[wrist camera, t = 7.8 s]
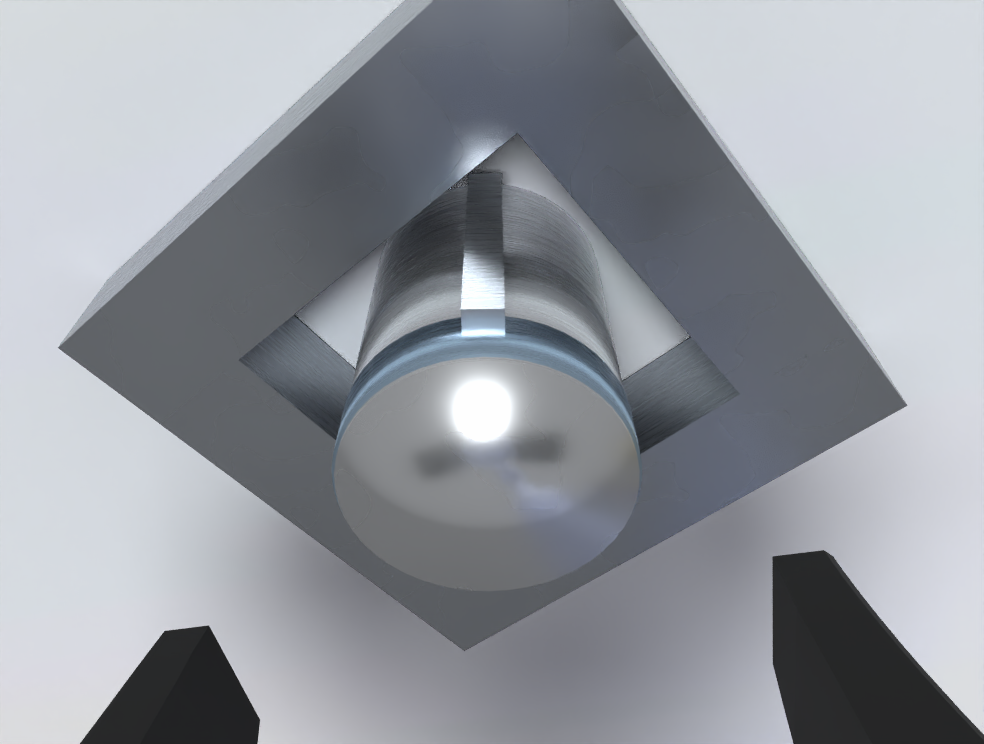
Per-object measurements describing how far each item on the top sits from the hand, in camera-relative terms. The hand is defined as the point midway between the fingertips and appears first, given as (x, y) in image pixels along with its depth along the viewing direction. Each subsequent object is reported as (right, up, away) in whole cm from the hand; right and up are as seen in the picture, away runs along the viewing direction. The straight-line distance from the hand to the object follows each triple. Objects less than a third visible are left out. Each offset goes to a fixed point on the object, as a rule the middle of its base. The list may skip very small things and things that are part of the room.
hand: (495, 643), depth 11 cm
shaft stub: (0, +5, +7) cm, 8 cm away
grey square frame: (0, +5, +7) cm, 8 cm away
